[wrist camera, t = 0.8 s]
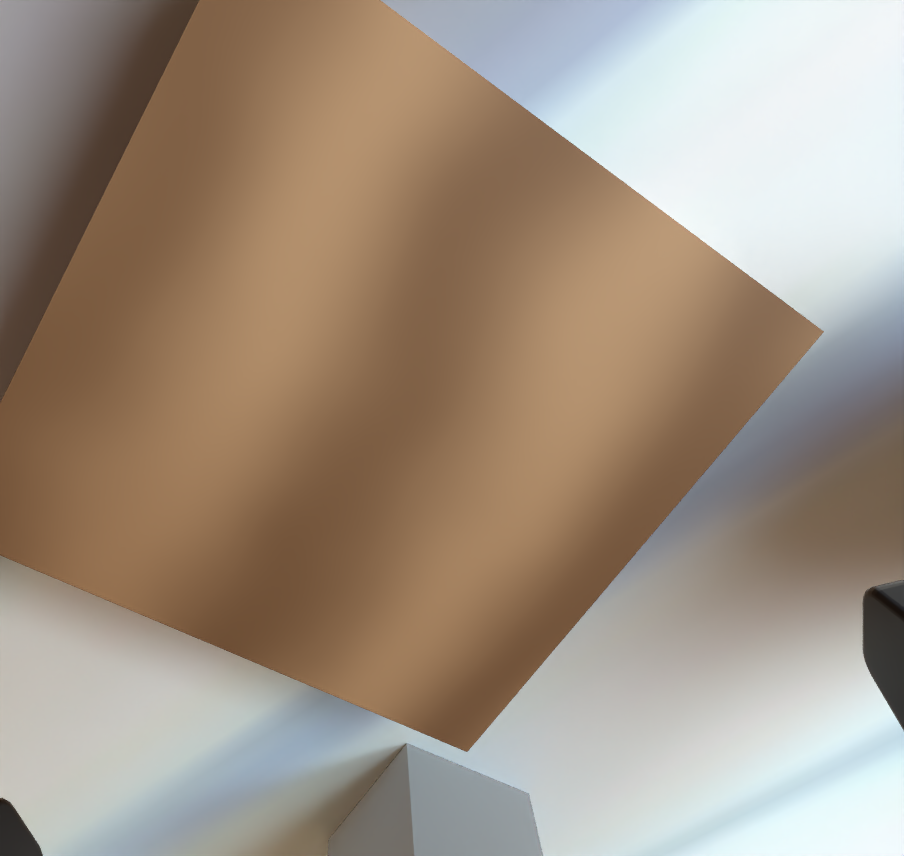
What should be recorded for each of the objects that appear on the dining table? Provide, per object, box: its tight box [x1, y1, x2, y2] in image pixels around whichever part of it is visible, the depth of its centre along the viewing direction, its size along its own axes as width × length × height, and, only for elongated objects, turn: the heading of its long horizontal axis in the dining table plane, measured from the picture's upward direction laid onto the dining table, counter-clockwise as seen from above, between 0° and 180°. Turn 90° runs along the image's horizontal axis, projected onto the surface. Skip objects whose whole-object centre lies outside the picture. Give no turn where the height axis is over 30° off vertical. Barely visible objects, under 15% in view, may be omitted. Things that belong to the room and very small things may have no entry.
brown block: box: [0, 0, 824, 752], centre depth 19 cm, size 14×14×4 cm
